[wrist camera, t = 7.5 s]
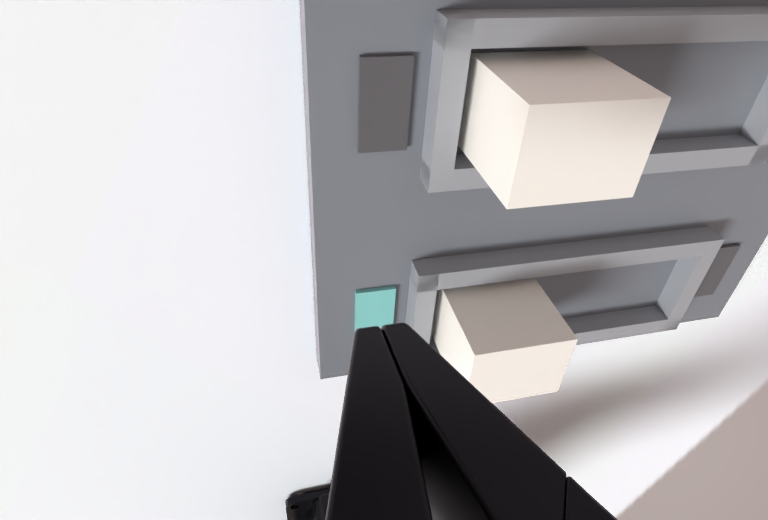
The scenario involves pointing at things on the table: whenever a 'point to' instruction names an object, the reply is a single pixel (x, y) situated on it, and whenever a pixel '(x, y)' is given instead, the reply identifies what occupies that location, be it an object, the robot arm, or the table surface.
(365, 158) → the switch board
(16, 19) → the table surface
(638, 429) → the table surface
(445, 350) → the tab
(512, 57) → the tab
